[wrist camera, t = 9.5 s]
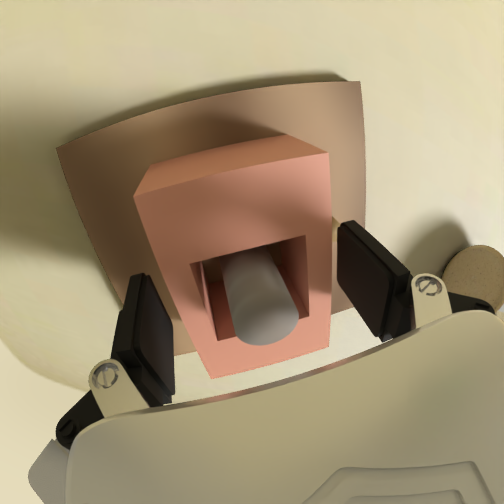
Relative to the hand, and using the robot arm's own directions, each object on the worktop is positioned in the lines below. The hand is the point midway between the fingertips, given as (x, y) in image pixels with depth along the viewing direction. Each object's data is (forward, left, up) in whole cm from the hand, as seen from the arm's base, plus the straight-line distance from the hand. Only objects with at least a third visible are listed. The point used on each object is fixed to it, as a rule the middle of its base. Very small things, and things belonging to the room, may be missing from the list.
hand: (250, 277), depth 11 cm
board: (0, 0, -4) cm, 4 cm away
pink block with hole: (0, 0, -3) cm, 3 cm away
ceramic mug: (+19, -11, -4) cm, 22 cm away
